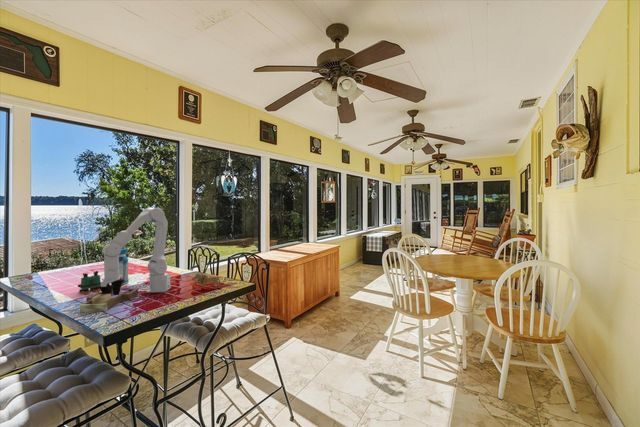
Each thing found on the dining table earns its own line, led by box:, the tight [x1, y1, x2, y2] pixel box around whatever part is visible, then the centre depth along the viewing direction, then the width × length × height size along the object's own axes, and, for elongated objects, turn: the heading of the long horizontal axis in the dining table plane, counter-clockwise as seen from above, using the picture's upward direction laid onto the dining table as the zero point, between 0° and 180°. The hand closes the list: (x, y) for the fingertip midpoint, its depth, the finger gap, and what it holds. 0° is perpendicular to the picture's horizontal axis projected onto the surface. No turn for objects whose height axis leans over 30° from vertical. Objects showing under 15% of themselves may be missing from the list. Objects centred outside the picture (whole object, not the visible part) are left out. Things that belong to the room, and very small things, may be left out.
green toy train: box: [77, 270, 102, 295], centre depth 151 cm, size 9×11×10 cm
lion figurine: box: [194, 272, 224, 289], centre depth 159 cm, size 15×5×9 cm, turn 114°
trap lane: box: [79, 286, 139, 313], centre depth 137 cm, size 16×26×3 cm, turn 9°
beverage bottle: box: [119, 247, 130, 286], centre depth 166 cm, size 8×8×20 cm
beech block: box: [92, 294, 112, 304], centre depth 130 cm, size 5×5×5 cm
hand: (112, 297), depth 139 cm, fingers open, 7 cm apart
